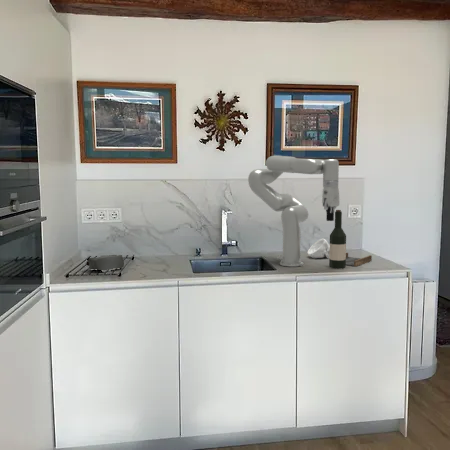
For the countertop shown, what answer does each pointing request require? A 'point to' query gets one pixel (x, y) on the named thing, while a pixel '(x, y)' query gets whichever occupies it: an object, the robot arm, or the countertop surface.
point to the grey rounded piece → (106, 262)
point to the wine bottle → (337, 244)
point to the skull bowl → (319, 249)
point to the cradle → (357, 260)
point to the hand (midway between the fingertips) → (330, 220)
